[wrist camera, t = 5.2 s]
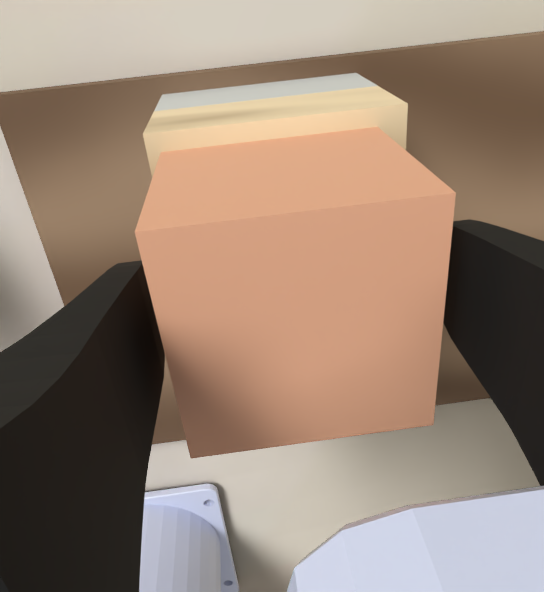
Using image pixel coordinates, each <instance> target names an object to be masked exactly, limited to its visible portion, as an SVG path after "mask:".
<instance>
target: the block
mask: <svg viewBox="0 0 544 592" xmlns="http://www.w3.org/2000/svg"><path fill="white" fill-rule="evenodd" d="M455 198H456V192H454V191H453V190H452V189H451V188H450V187H449V186H447V185H446V184H445V183H444V182H443V181H441V180H440V179H439V178H438V177H437V176H436V175H434V174H433V173H432V172H431V171H430V170H428V169H427V168H426V167H425V166H424V165H423V164H421V163H420V162H419V161H418V160H417V159H415V158H414V157H413V156H412V155H411V154H409V153H408V152H407V151H406V150H405V149H404V148H402V147H401V146H400V145H399V144H398V143H396V142H395V141H394V140H393V139H392V138H391V137H389V136H388V135H387V134H386V133H385V132H383V131H382V130H381V129H380V128H379V127H371V128H363V129H354V130H345V131H337V132H328V133H320V134H311V135H303V136H294V137H286V138H277V139H269V140H260V141H251V142H243V143H234V144H226V145H217V146H209V147H200V148H192V149H183V150H174V151H166V152H161V153H160V156H159V159H158V162H157V165H156V168H155V171H154V174H153V177H152V180H151V183H150V187H149V190H148V193H147V196H146V199H145V202H144V205H143V208H142V211H141V214H140V217H139V220H138V223H137V226H136V229H135V236H136V240H137V244H138V248H139V252H140V256H141V260H142V264H143V268H144V272H145V276H146V280H147V284H148V288H149V292H150V296H151V300H152V304H153V308H154V312H155V316H156V320H157V324H158V328H159V332H160V336H161V340H162V344H163V348H164V352H165V356H166V360H167V364H168V368H169V372H170V376H171V380H172V384H173V388H174V392H175V396H176V401H177V405H178V409H179V413H180V417H181V421H182V425H183V429H184V433H185V437H186V441H187V445H188V449H189V453H190V457H191V458H197V457H204V456H212V455H219V454H226V453H233V452H241V451H248V450H255V449H262V448H270V447H277V446H284V445H291V444H298V443H306V442H313V441H320V440H327V439H335V438H342V437H349V436H356V435H364V434H371V433H378V432H385V431H393V430H400V429H407V428H414V427H421V426H429V425H433V422H434V412H435V402H436V392H437V381H438V371H439V361H440V351H441V341H442V331H443V320H444V310H445V300H446V290H447V280H448V269H449V259H450V249H451V239H452V229H453V218H454V208H455Z"/></svg>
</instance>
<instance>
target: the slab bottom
mask: <svg viewBox="0 0 544 592" xmlns="http://www.w3.org/2000/svg"><path fill="white" fill-rule="evenodd" d="M372 86H378V85H376V84H374V83H372V82H371V81H369V80H367V79H366V78H364V77H362V76H361V75H359V74H357V73H350V74H341V75H332V76H323V77H314V78H305V79H296V80H287V81H278V82H269V83H261V84H252V85H243V86H234V87H225V88H216V89H207V90H198V91H189V92H180V93H172V94H163V95H162V96H161V98H160V100H159V102H158V104H157V106H156V108H155V110H154V111H161V110H169V109H178V108H187V107H196V106H205V105H214V104H222V103H231V102H240V101H249V100H258V99H267V98H275V97H284V96H293V95H302V94H311V93H319V92H328V91H337V90H346V89H355V88H364V87H372Z"/></svg>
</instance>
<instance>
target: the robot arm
mask: <svg viewBox="0 0 544 592" xmlns="http://www.w3.org/2000/svg"><path fill="white" fill-rule="evenodd" d="M443 323H444V325H445V327H446V329H447V332H448V334H449V336H450V338H451V339H452V341H453V342H454V344H455V346H456V347H457V349H458V350H459V352H460V353H461V355H462V356H463V358H464V359H465V361H466V362H467V364H468V365H469V367H470V368H471V370H472V371H473V372H474V374H475V375H476V377H477V378H478V380H479V381H480V383H481V384H482V386H483V387H484V389H485V390H486V392H487V393H488V394H489V396H490V397H491V399H492V400H493V402H494V403H495V405H496V406H497V408H498V409H499V411H500V412H501V414H502V415H503V417H504V418H505V420H506V422H507V423H508V425H509V427H510V428H511V430H512V431H513V433H514V435H515V437H516V439H517V441H518V443H519V445H520V447H521V449H522V450H523V452H524V454H525V456H526V458H527V460H528V462H529V464H530V466H531V468H532V470H533V471H534V473H535V476H536V478H537V480H538V482H539V484H540V486H538V487H531V488H524V489H517V490H510V491H503V492H496V493H490V494H483V495H476V496H469V497H462V498H455V499H448V500H441V501H434V502H427V503H420V504H413V505H407V506H403V507H400V508H397V509H394V510H391V511H388V512H384V513H381V514H378V515H375V516H372V517H369V518H365V519H362V520H359V521H356V522H353V523H350V524H346V525H345V526H344V527H342V528H341V529H340V530H338V531H337V532H336V533H335V534H333V535H332V536H331V537H330V538H328V539H327V540H326V541H325V542H323V543H322V544H321V545H319V546H318V547H317V548H316V549H314V550H313V551H312V552H311V553H309V554H308V555H307V556H306V557H304V558H303V559H302V560H301V561H300V562H299V564H298V565H297V566H296V567H295V568H294V570H293V573H292V577H291V580H290V583H289V586H288V589H287V592H544V241H542V240H539V239H536V238H533V237H530V236H527V235H524V234H521V233H518V232H515V231H512V230H509V229H506V228H503V227H499V226H496V225H493V224H489V223H485V222H481V221H477V220H471V219H468V220H460V221H453V229H452V239H451V249H450V259H449V269H448V280H447V290H446V300H445V310H444V320H443ZM164 368H165V352H164V348H163V344H162V340H161V336H160V332H159V328H158V324H157V320H156V316H155V312H154V308H153V304H152V300H151V296H150V292H149V288H148V284H147V280H146V276H145V272H144V268H143V264H142V260H140V261H132V262H124V263H117V264H116V265H114V266H112V267H111V268H110V269H108V270H107V271H106V272H105V273H103V274H102V275H101V276H100V277H99V278H98V279H96V280H95V281H94V282H93V283H92V284H91V285H89V286H88V287H87V288H86V289H85V290H84V291H82V292H81V293H80V294H79V295H78V296H76V297H75V298H74V299H73V300H72V301H71V302H69V303H68V304H67V305H66V306H65V307H63V308H62V309H61V310H59V311H58V312H57V313H55V314H54V315H53V316H52V317H50V318H49V319H48V320H46V321H45V322H44V323H42V324H41V325H40V326H39V327H37V328H36V329H35V330H33V331H32V332H31V333H29V334H28V335H26V336H25V337H23V338H22V339H21V340H19V341H18V342H16V343H15V344H13V345H12V346H10V347H8V348H7V349H5V350H4V351H2V352H0V592H239V584H238V580H237V575H236V570H235V566H234V561H233V557H232V552H231V548H230V543H229V539H228V534H227V530H226V525H225V521H224V516H223V512H222V507H221V503H220V498H219V494H218V489H217V487H216V486H214V485H212V484H201V485H194V486H186V487H179V488H172V489H165V490H158V491H151V492H145V483H146V476H147V469H148V462H149V456H150V451H151V446H152V440H153V435H154V430H155V424H156V419H157V414H158V408H159V403H160V397H161V392H162V386H163V380H164Z"/></svg>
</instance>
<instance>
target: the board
mask: <svg viewBox="0 0 544 592" xmlns="http://www.w3.org/2000/svg"><path fill="white" fill-rule="evenodd" d="M350 73H357V74H359V75H361V76H362V77H364V78H366V79H367V80H369V81H371V82H372V83H374V84H376V85H378V86H379V87H381V88H382V89H384V90H386V91H387V92H389V93H391V94H393V95H394V96H396V97H398V98H399V99H401V100H403V101H404V102H406V103H408V113H407V136H406V151H407V152H408V153H409V154H411V155H412V156H413V157H414V158H415V159H417V160H418V161H419V162H420V163H421V164H423V165H424V166H425V167H426V168H427V169H428V170H430V171H431V172H432V173H433V174H434V175H436V176H437V177H438V178H439V179H440V180H441V181H443V182H444V183H445V184H446V185H447V186H449V187H450V188H451V189H452V190H453V191H454V192H456V198H455V208H454V218H453V221H460V220H468V219H471V220H477V221H481V222H485V223H489V224H493V225H496V226H499V227H503V228H506V229H509V230H512V231H515V232H518V233H521V234H524V235H527V236H530V237H533V238H536V239H539V240H542V241H544V31H542V32H533V33H524V34H515V35H506V36H498V37H489V38H480V39H471V40H462V41H453V42H444V43H435V44H427V45H418V46H409V47H400V48H391V49H382V50H373V51H364V52H355V53H347V54H338V55H329V56H320V57H311V58H302V59H293V60H284V61H276V62H267V63H258V64H249V65H240V66H231V67H222V68H213V69H205V70H196V71H187V72H178V73H169V74H160V75H151V76H142V77H134V78H125V79H116V80H107V81H98V82H89V83H80V84H71V85H63V86H54V87H45V88H36V89H27V90H18V91H9V92H0V126H1V129H2V132H3V134H4V137H5V140H6V143H7V146H8V148H9V151H10V154H11V157H12V160H13V163H14V165H15V168H16V171H17V174H18V177H19V179H20V182H21V185H22V188H23V191H24V194H25V196H26V199H27V202H28V205H29V208H30V210H31V213H32V216H33V219H34V222H35V224H36V227H37V230H38V233H39V236H40V239H41V241H42V244H43V247H44V250H45V253H46V255H47V258H48V261H49V264H50V267H51V270H52V272H53V275H54V278H55V281H56V284H57V286H58V289H59V292H60V295H61V298H62V300H63V303H64V306H66V305H67V304H68V303H69V302H71V301H72V300H73V299H74V298H75V297H76V296H78V295H79V294H80V293H81V292H82V291H84V290H85V289H86V288H87V287H88V286H89V285H91V284H92V283H93V282H94V281H95V280H96V279H98V278H99V277H100V276H101V275H102V274H103V273H105V272H106V271H107V270H108V269H110V268H111V267H112V266H114V265H116V264H117V263H124V262H132V261H140V260H141V256H140V252H139V248H138V244H137V240H136V236H135V229H136V226H137V223H138V220H139V217H140V214H141V211H142V208H143V205H144V202H145V199H146V196H147V193H148V190H149V187H150V183H151V180H152V175H151V170H150V165H149V161H148V156H147V152H146V147H145V142H144V138H143V132H144V130H145V128H146V126H147V124H148V122H149V120H150V118H151V116H152V114H153V112H154V110H155V108H156V106H157V104H158V102H159V100H160V98H161V96H162V95H163V94H172V93H180V92H189V91H198V90H207V89H216V88H225V87H234V86H243V85H252V84H261V83H269V82H278V81H287V80H296V79H305V78H314V77H323V76H332V75H341V74H350ZM485 398H491V397H490V396H489V394H488V393H487V392H486V390H485V389H484V387H483V386H482V384H481V383H480V381H479V380H478V378H477V377H476V375H475V374H474V372H473V371H472V370H471V368H470V367H469V365H468V364H467V362H466V361H465V359H464V358H463V356H462V355H461V353H460V352H459V350H458V349H457V347H456V346H455V344H454V342H453V341H452V339H451V338H450V336H449V334H448V332H447V329H446V327H445V325H444V323H443V331H442V341H441V351H440V361H439V371H438V381H437V392H436V402H435V405H441V404H448V403H456V402H463V401H470V400H477V399H485ZM180 440H186V437H185V433H184V429H183V425H182V421H181V417H180V413H179V409H178V405H177V401H176V396H175V392H174V388H173V384H172V380H171V376H170V372H169V368H168V364H167V360H166V356H165V368H164V380H163V386H162V392H161V397H160V403H159V408H158V414H157V419H156V424H155V430H154V435H153V440H152V444H158V443H165V442H172V441H180Z"/></svg>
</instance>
